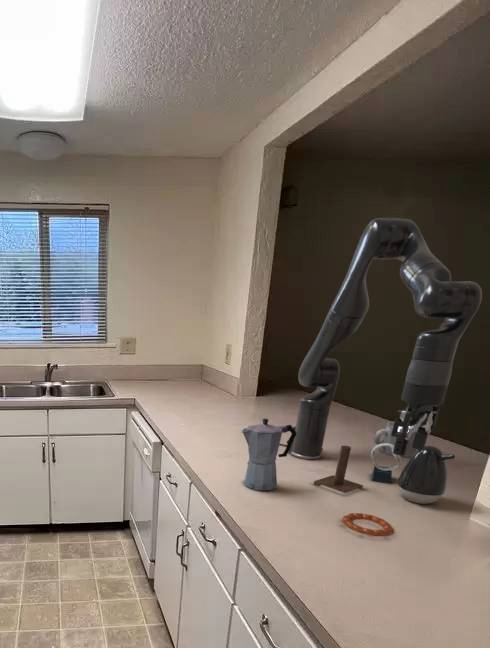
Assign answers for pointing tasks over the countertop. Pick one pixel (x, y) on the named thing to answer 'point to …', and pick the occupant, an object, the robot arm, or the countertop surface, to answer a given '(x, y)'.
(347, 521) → the ring
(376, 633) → the countertop surface
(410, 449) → the coffee mug
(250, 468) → the moka pot
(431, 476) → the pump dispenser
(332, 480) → the stand
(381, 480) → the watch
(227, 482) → the countertop surface
